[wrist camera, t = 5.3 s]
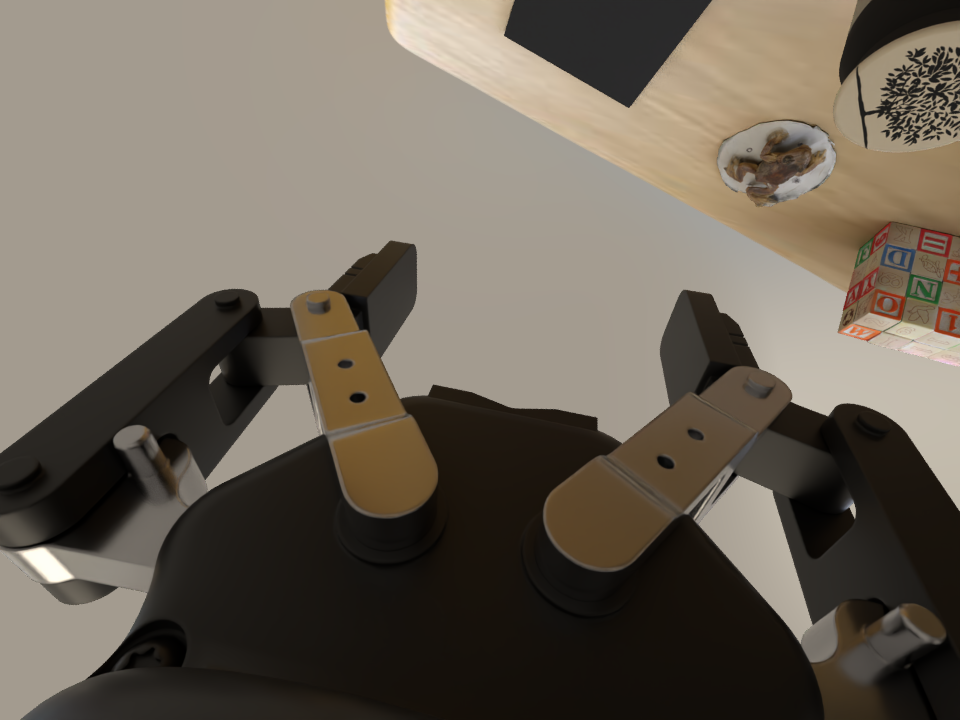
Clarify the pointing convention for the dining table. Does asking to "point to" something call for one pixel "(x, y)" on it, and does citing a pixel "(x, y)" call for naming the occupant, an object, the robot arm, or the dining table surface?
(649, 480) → the robot arm
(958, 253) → the stack of blocks
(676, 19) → the mat
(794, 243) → the dining table surface
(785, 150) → the frog figurine
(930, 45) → the travel mug
